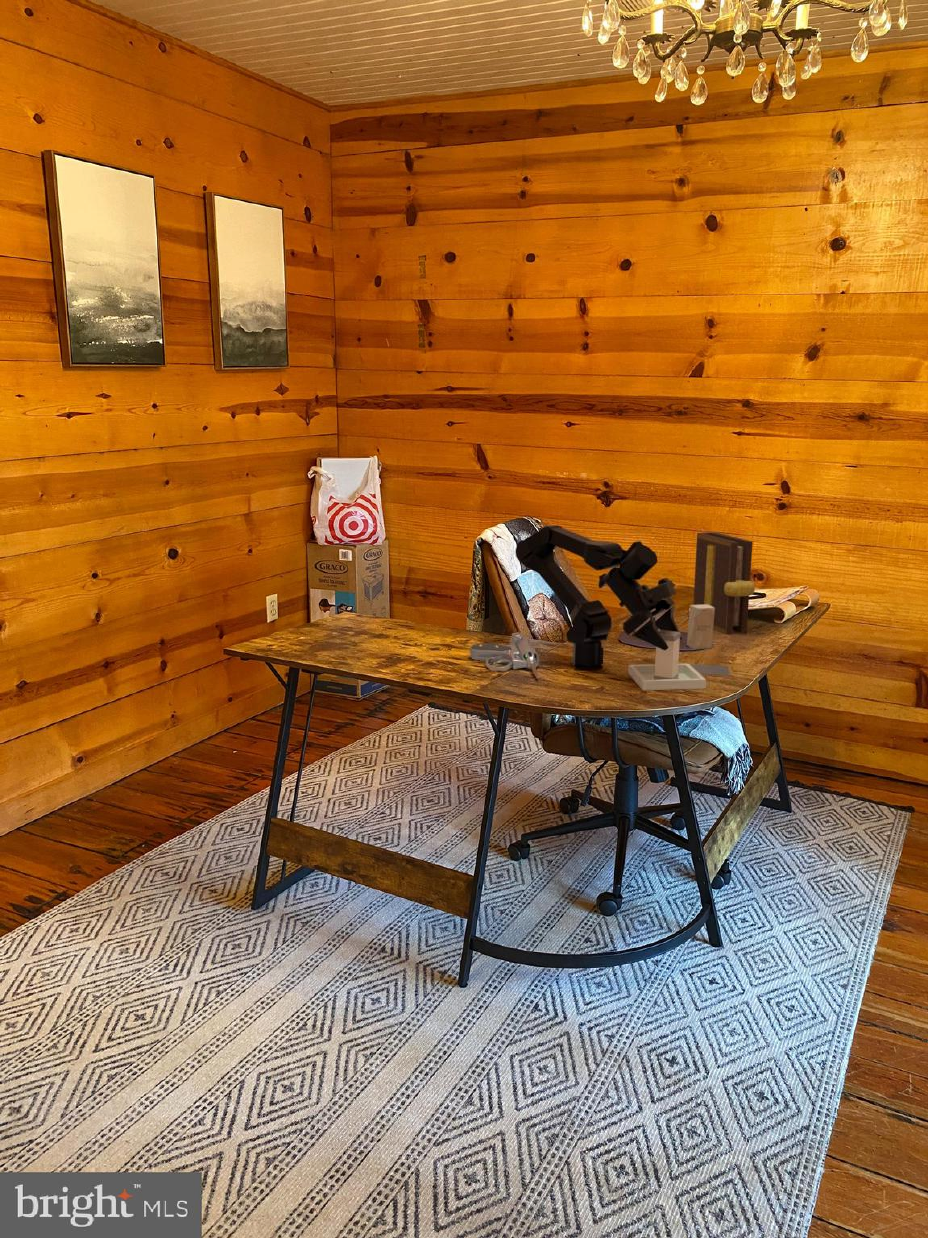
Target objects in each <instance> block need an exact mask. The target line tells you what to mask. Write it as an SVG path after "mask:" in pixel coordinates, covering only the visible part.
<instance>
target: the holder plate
mask: <svg viewBox="0 0 928 1238" xmlns="http://www.w3.org/2000/svg"><path fill="white" fill-rule="evenodd" d="M688 664H689V663H688ZM689 665H690V666H692V667H693V668H694V669H695V670H696V671H697V672H698V673H699V674H701V675H708V676H711V675H712V676H730V677H731V672H730V669H729V666H728V665H711V664H696V663H695V664H691V663H690V664H689Z"/></svg>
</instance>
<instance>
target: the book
mask: <svg viewBox="0 0 928 1238" xmlns="http://www.w3.org/2000/svg"><path fill="white" fill-rule="evenodd" d="M753 544H754V541H752V540H749V539H744V538H740V537H736V536H732V535H727V534H725V533H720V532H713V531H712V532H696V546H695V547H696V548H695V549H696V550H695V564H694V565H695V566H694V584H693V586H694V587H693V589H694V590H693V603H692V605H704V604H708V605H710V606H712V607H714V608H715V611H714V624H713V631H716V632H719V633H722V634H724V635H726V636H727V635H728V636H729V635H730V636H731V635H733V631H734V632H737V633H740V634H747V632H748V618H749V617H748V616H749V604H750V603H749V602H750V596H752V595H754V594H755V589H756V588H755V587H756V586H755V583H754V582H753V581H752V580H751V573H752V571H751V570H752V557H753Z"/></svg>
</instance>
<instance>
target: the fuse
mask: <svg viewBox="0 0 928 1238" xmlns="http://www.w3.org/2000/svg"><path fill="white" fill-rule="evenodd" d="M659 633H660V634H661V636H662V637H663V639H664V640H665V642H666V644H667V645H668V649H667V650H662V649H660V648H658V647H656V646H655V661H654V663H655V675H654V680H661V679H678V664H680V663H679V662H680V661H679V660H680V659H679V657H680V641H681V640H680V634H681V633H682V632H680V631H679V632H674V631H666V630H660V631H659ZM681 635H682V634H681Z"/></svg>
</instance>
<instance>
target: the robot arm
mask: <svg viewBox="0 0 928 1238" xmlns="http://www.w3.org/2000/svg"><path fill="white" fill-rule="evenodd" d="M557 547H558V548H560V549H563V550H565V551H567V552H569V553H572V554H574V555H575V556H579V557H581V558H582V560H583V561H584V563H585V564H586V565H588V566H589V567H590V568H592V569H593V570H595V571H603V570H609V569H610V570H609V571H608V572H607V573H602V574H601V575H599V576H598V578H599V579H598V588H599V589H602V588H604V587H605V586H607V587H608V588H609V589H610V590H611V592H612V593H613V594H614V595H615V597H617V599H618V601H620V602H619V603H618V605H619V606H620V607H621V608H623V607H625V608H626V609H627V611H628V612H629V613H630V615H631V616H630V617H629V618H627V619H626V620H625V621H624V622H623V623H622V629H623V631H624V633H626V635H627V636H630V635H631V636H632V637H633V638H637V639H639V640H641V641H643V642H646V643H648V644H650V645H652V646H655V648H656V647H658V648H660V649H662V650H667V649H668V645H667V644H666V642H665V640H664V639H663V637H662V636H661V634H660V633H659V632H660V631H662V630H666V631H674V632H680V629H679V627H678V625H677V623H676V622H675V619H674V612H675V611H674V610H675V609H676V607H675V606H674V605H676V603H675V601H674V600H673V599H672V598H671V597H672V596H674V595H676V594H677V593H676V590H675V587H676V584H675V583H674V582H673V580H672V579H671V580H670V579H669V578H668V577H664V578H662V579H659V580H658V581H657V585H655V586H652V587H651V588H650V587H649V586H648V585H646V584H642V585H641V584H640V582H638V580H641V579H643V577H645V575H646V574H647V573H648V572H650V571H651V570H652V568H653V567H655V566H656V565H657V563H658V556H657V553H656V552H655V551H654V550H652V549H651V548H650V547H648V546H647V545H645V544H643V543H642V541H640V540H638V541H633V542H632V544H631V545H630V546H629V548H628V549H627V550H626V549H623V548H622V546H621V544H619V543H617V542H611V541H604V540H603V541H602V540H593V539H590V538H588V537H586V536H583V535H581V534H578V533H575V532H573V531H571V530H568V529H566V528H563V526H560V525H558V524H556V525H555V524H554V525H546V526H543V527H542V528H541V529H539V530H538V531H536V532H535V533H533V534H531V535H530V536H528V537H526V538H525V539H522V540H519V542H518V543H517V544H516V547H515V557H516V559H517V560H518V562H519V563H520V564H522V565H523V566H524V567H525V568H527V569H529V570H531V571H533V572H535V573H537V574H538V575H539V576H540V577H541V578H542V579H543V581H544V582H545V583H546V584H547V586H548V587H549V588H550V589H551V591H552V592H553V593H554V594H555V596H556V597H557V598H558V600H560V602H561V603H562V604H563V605H564V606H565V608H566V609H567V610H568V611H569V613H570V621H571V625H572V626H571V628H569V630H567V632H566V634H565V636H566V638H567V639H566V640H567V642H568V643H572V660H570V663H571V665H572V667H573V668H574V669H575V670H602V669H603V667H604V666H603V664H604V653H605V651H604V647H603V646H602V641H607V640H608V637H609V634H610V631H611V629H612V623H613V622H612V621H613V620H612V617H611V615H610V614H609V613H610V611H609V610H608V609H607V608H606V607H604V604H603V603H602V602H601V601H600V600H598V599H597V600H591V601H590V600H588V599H587V598H586V597H585V596H584V595H583V593H582V592H581V591H580V590H579V589H578V587H577V586H576V585H575V584H574V582H573V581H572V580H571V579H570V578H569V577H568V575H567V574H566V573H565V572H564V571H563V570H562V568H561V567H560V566H559V565H558V563H556V561H555V552H554V551H555V550H556V549H557ZM659 630H660V631H659ZM681 640H683V637H682V634H680V641H681Z"/></svg>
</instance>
